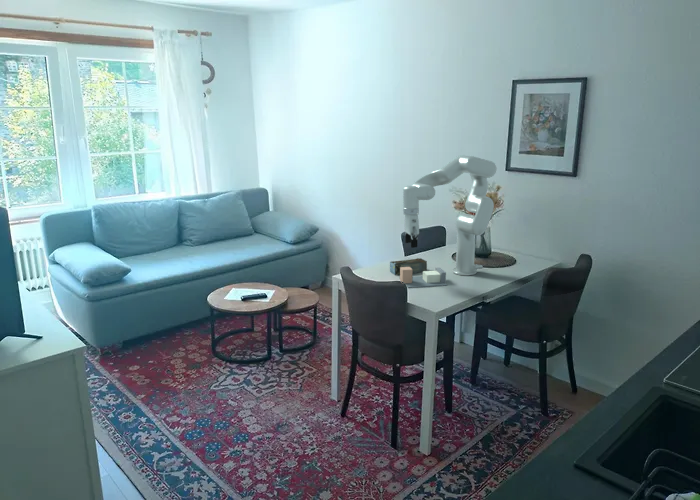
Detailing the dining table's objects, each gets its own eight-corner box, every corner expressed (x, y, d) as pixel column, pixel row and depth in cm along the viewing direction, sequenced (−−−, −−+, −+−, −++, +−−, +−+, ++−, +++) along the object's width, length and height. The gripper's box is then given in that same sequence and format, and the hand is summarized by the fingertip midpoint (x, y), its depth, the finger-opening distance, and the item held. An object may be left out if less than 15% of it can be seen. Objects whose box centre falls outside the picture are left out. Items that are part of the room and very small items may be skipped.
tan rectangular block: (409, 279, 271) (409, 266, 269) (412, 282, 266) (412, 269, 264) (399, 280, 270) (400, 267, 268) (402, 283, 265) (402, 270, 263)
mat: (436, 276, 279) (436, 275, 279) (447, 285, 264) (447, 284, 263) (399, 278, 276) (399, 277, 275) (408, 288, 260) (408, 286, 260)
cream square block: (439, 277, 275) (439, 267, 274) (445, 282, 267) (445, 272, 266) (422, 278, 274) (422, 268, 273) (427, 283, 265) (427, 273, 264)
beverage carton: (389, 271, 289) (389, 260, 287) (421, 268, 294) (421, 257, 293) (394, 275, 281) (394, 263, 280) (427, 272, 287) (428, 260, 285)
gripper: (423, 213, 253) (423, 248, 258) (413, 207, 270) (413, 240, 274) (408, 215, 252) (408, 249, 256) (399, 208, 268) (399, 241, 273)
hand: (411, 245), depth 265 cm, fingers open, 9 cm apart
